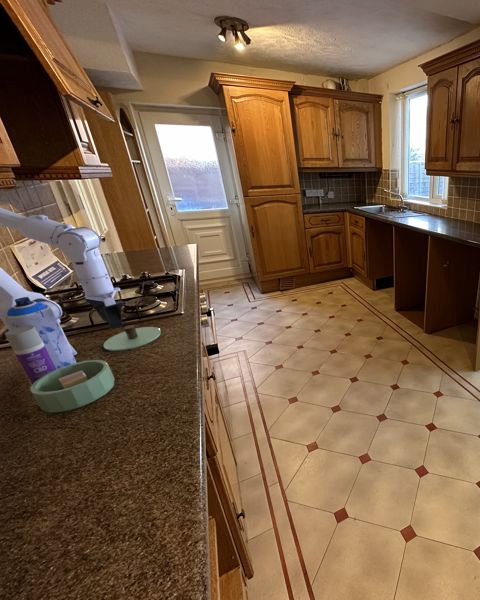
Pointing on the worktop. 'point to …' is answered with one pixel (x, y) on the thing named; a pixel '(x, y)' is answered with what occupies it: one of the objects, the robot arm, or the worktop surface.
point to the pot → (77, 394)
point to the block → (73, 379)
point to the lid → (132, 338)
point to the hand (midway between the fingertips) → (113, 323)
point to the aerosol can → (42, 328)
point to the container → (30, 352)
